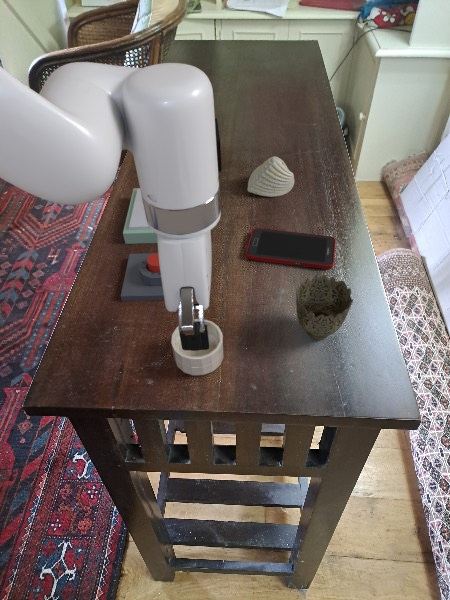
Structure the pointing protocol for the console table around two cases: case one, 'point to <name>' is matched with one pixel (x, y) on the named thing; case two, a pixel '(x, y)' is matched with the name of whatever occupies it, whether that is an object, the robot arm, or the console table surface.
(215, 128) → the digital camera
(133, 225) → the scale
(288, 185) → the seashell
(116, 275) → the console table surface
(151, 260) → the button
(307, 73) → the console table surface
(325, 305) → the cup
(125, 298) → the pad
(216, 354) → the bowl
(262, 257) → the cell phone
